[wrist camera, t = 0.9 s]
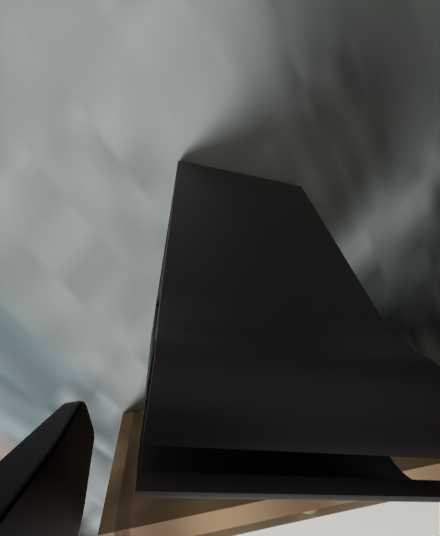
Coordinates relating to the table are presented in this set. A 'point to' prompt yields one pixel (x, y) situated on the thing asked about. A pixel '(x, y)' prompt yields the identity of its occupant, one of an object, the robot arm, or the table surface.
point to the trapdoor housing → (201, 509)
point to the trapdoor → (350, 521)
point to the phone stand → (274, 359)
